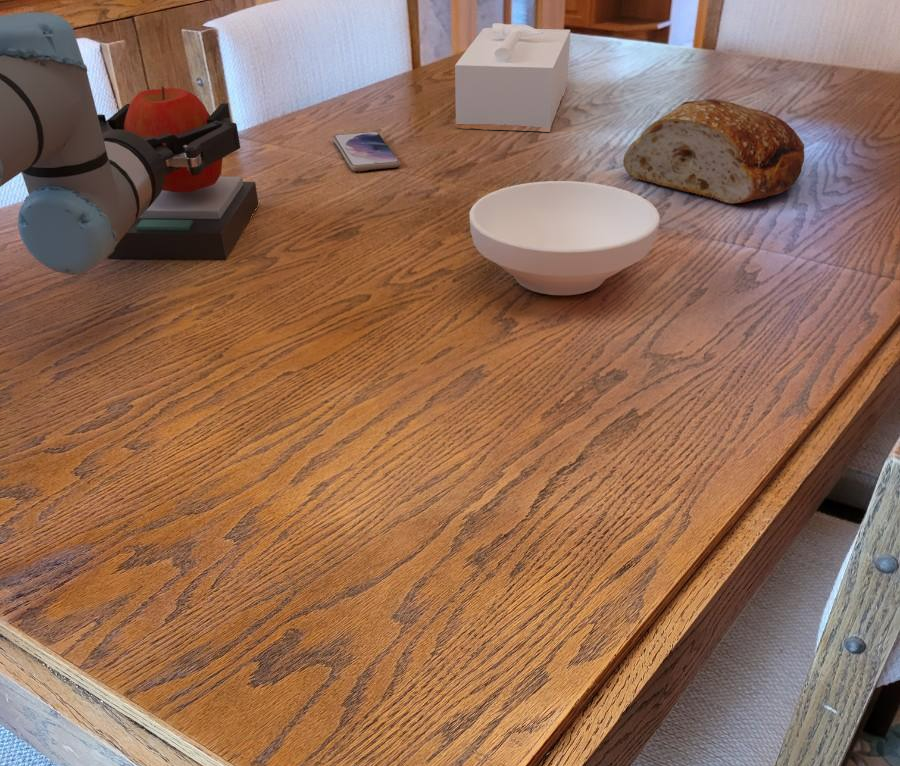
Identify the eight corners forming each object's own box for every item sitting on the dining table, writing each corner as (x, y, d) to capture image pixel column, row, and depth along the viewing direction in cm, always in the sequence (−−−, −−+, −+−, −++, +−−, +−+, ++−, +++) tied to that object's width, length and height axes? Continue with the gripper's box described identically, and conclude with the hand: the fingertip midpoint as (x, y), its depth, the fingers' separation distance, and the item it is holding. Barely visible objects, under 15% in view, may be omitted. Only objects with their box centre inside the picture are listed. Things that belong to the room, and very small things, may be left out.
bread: (616, 178, 121) (625, 95, 114) (700, 147, 129) (712, 68, 123) (745, 218, 109) (763, 129, 103) (827, 182, 118) (849, 97, 111)
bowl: (432, 277, 99) (430, 210, 94) (559, 231, 108) (563, 168, 103) (559, 340, 88) (564, 268, 83) (688, 283, 97) (700, 215, 92)
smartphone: (378, 131, 135) (401, 161, 125) (378, 137, 136) (401, 168, 125) (331, 134, 134) (351, 166, 123) (332, 140, 134) (351, 172, 124)
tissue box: (566, 88, 154) (571, 13, 146) (549, 132, 136) (553, 49, 128) (483, 85, 156) (484, 11, 149) (455, 128, 138) (454, 47, 131)
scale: (107, 258, 104) (97, 223, 101) (152, 205, 116) (145, 172, 114) (225, 259, 103) (219, 224, 101) (259, 206, 116) (253, 173, 113)
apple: (121, 200, 104) (94, 98, 97) (157, 168, 112) (135, 72, 105) (209, 203, 103) (189, 100, 96) (240, 171, 111) (223, 74, 104)
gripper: (18, 217, 93) (93, 150, 110) (236, 218, 92) (280, 150, 108) (-9, 139, 88) (75, 80, 104) (222, 139, 87) (271, 79, 103)
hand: (179, 116), depth 106 cm, fingers closed on apple, 11 cm apart
